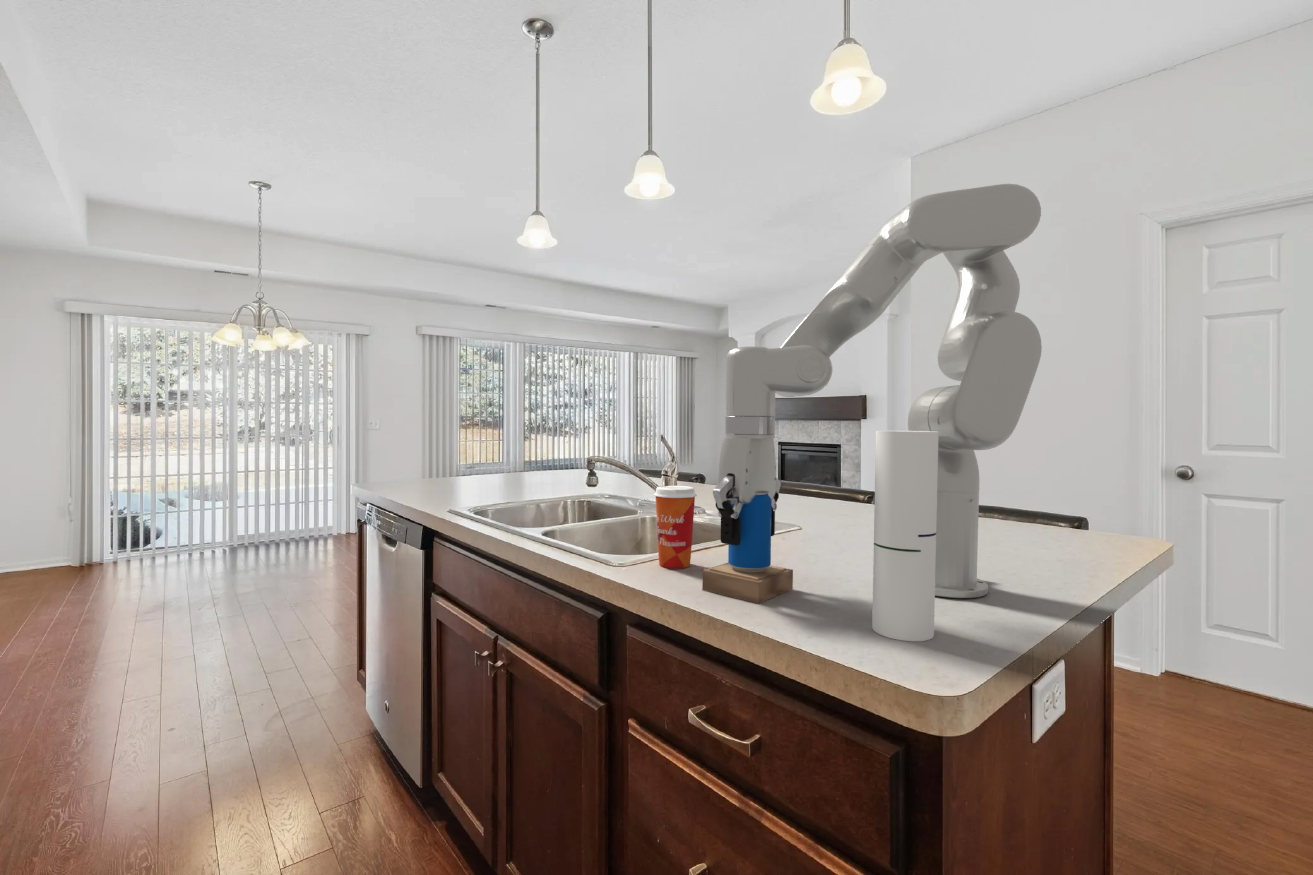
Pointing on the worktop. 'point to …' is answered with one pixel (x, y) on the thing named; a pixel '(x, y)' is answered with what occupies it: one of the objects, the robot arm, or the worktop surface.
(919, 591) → the cylindrical container
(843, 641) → the worktop surface
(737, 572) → the plinth
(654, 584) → the worktop surface
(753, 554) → the beverage can
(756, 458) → the robot arm
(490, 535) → the worktop surface
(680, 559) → the paper cup
